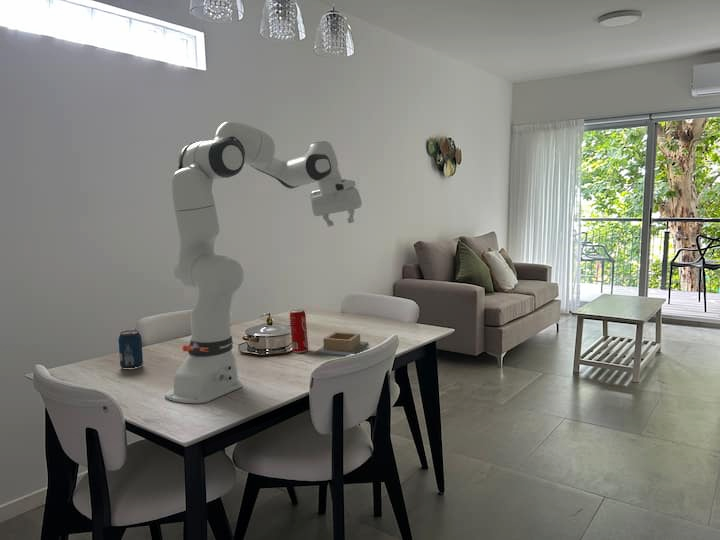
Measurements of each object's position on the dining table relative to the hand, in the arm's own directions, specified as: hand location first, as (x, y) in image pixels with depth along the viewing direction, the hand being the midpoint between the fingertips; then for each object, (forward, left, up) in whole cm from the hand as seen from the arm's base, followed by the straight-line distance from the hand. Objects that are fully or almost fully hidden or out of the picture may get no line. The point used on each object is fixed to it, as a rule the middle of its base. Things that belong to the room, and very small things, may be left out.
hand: (340, 224), depth 193 cm
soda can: (-45, +58, -46) cm, 86 cm away
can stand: (-4, -1, -46) cm, 46 cm away
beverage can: (-11, +13, -46) cm, 49 cm away
